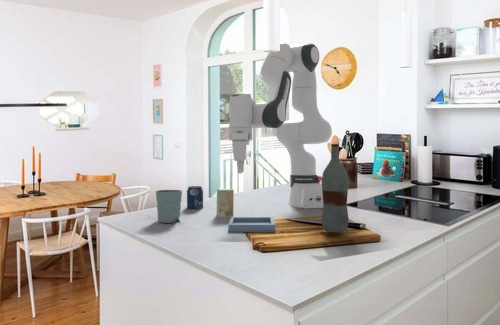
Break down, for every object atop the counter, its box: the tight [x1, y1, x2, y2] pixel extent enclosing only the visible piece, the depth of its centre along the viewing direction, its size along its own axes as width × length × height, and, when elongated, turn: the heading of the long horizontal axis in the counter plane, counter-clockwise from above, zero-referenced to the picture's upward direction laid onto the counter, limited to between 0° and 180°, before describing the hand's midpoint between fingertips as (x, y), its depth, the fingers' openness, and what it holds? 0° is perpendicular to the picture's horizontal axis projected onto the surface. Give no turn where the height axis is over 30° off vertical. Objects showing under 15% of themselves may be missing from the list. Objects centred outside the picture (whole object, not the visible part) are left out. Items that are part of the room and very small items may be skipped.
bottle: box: [321, 143, 350, 233], centre depth 150 cm, size 9×9×30 cm
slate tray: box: [227, 216, 276, 233], centre depth 156 cm, size 16×16×2 cm
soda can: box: [186, 185, 204, 211], centre depth 187 cm, size 7×7×12 cm
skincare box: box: [216, 188, 235, 219], centre depth 174 cm, size 6×4×12 cm
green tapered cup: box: [155, 189, 183, 224], centre depth 172 cm, size 10×10×12 cm
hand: (240, 172), depth 161 cm, fingers open, 5 cm apart
